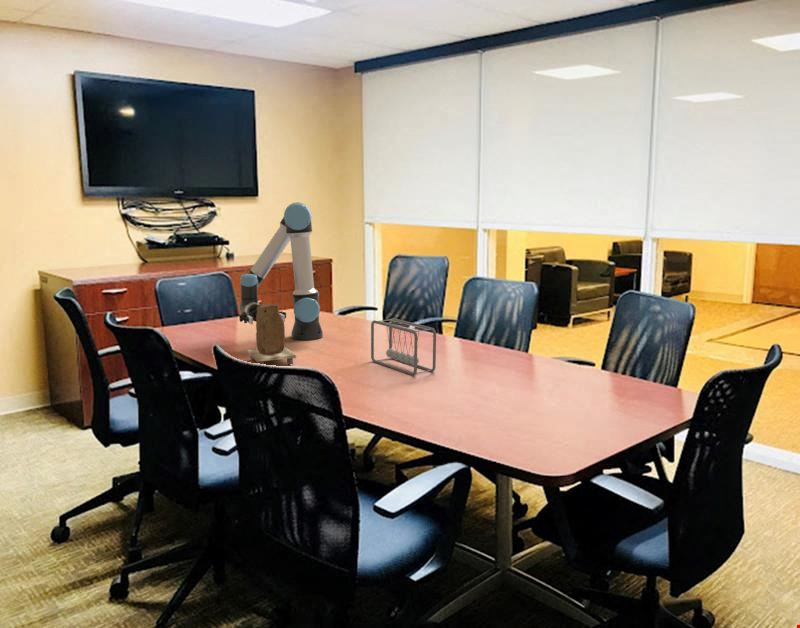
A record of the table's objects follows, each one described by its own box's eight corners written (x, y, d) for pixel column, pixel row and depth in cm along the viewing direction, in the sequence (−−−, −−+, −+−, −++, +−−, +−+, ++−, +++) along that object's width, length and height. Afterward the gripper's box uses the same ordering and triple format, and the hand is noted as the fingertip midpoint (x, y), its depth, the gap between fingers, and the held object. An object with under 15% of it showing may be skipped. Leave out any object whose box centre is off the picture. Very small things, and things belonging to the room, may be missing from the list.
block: (261, 355, 276) (260, 306, 273) (255, 351, 283) (254, 304, 279) (286, 352, 282) (285, 304, 278) (280, 349, 288) (279, 302, 285)
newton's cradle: (370, 361, 286) (370, 319, 283) (390, 358, 293) (390, 317, 289) (415, 377, 263) (415, 331, 260) (436, 372, 269) (436, 328, 266)
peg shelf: (285, 356, 294) (285, 346, 293) (296, 365, 279) (295, 355, 278) (247, 359, 287) (247, 349, 287) (256, 368, 272) (256, 358, 271)
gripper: (282, 318, 311) (297, 326, 292) (227, 322, 300) (238, 331, 281) (282, 301, 310) (296, 309, 291) (226, 305, 299) (237, 313, 280)
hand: (268, 319), depth 286 cm, fingers open, 13 cm apart
